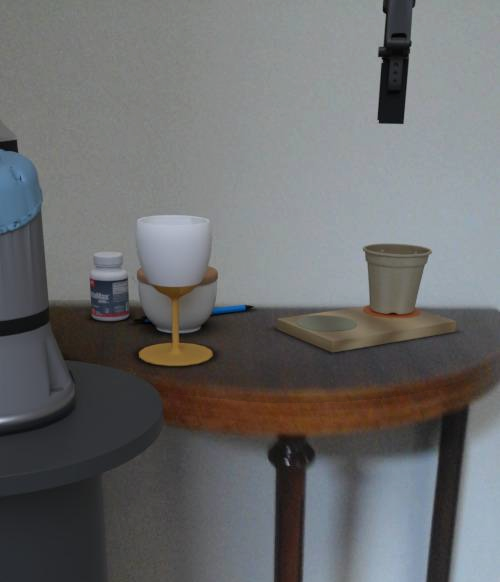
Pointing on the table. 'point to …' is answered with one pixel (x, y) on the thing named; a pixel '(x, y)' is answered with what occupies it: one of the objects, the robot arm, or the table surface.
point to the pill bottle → (109, 287)
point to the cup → (174, 275)
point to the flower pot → (394, 276)
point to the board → (361, 328)
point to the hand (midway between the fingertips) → (389, 122)
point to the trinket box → (179, 303)
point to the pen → (215, 311)
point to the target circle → (391, 315)
